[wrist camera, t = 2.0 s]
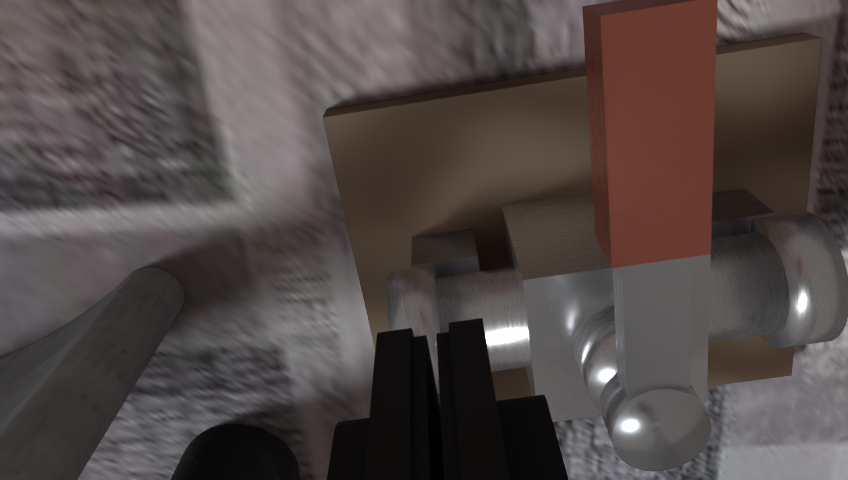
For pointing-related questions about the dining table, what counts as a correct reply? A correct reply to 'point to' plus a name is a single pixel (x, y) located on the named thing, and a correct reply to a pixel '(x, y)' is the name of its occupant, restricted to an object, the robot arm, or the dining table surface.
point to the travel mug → (237, 456)
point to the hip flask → (81, 378)
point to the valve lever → (652, 211)
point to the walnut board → (557, 169)
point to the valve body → (594, 294)
